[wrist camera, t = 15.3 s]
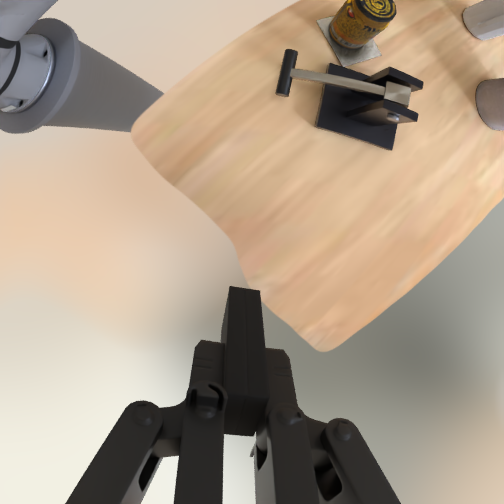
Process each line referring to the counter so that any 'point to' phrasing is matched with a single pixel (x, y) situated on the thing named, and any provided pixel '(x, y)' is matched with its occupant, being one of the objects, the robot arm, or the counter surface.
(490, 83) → the pillar candle
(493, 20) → the water bottle
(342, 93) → the bracket
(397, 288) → the counter surface
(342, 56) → the condiment
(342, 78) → the lever
